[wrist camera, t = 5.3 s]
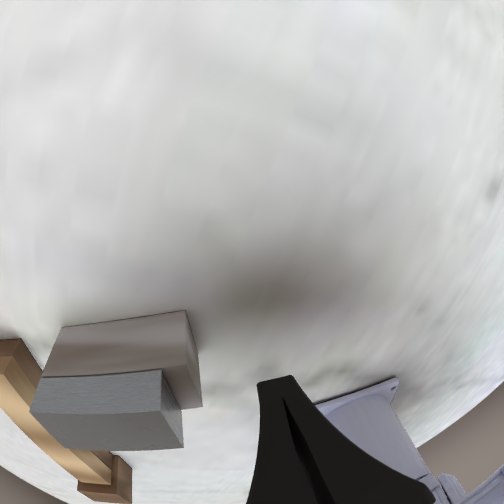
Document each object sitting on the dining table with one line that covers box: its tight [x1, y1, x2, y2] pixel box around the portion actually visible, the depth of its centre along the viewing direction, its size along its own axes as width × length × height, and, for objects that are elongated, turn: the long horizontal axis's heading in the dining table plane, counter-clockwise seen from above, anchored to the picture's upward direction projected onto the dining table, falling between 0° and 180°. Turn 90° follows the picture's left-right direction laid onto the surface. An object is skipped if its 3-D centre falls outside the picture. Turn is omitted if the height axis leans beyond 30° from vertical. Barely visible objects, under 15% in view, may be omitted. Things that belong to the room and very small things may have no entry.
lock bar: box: [29, 370, 184, 451], centre depth 10 cm, size 3×6×2 cm, turn 96°
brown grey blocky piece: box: [0, 310, 203, 504], centre depth 15 cm, size 18×14×4 cm
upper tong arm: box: [0, 356, 112, 485], centre depth 14 cm, size 14×3×2 cm, turn 6°
